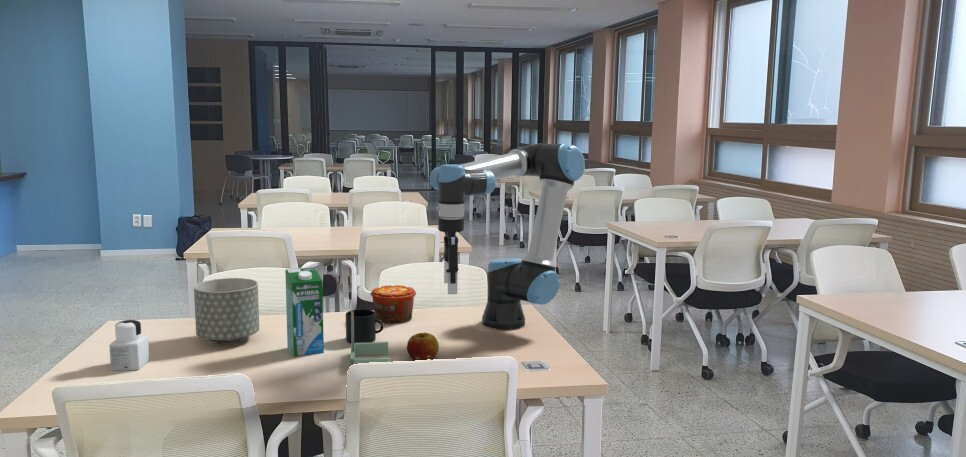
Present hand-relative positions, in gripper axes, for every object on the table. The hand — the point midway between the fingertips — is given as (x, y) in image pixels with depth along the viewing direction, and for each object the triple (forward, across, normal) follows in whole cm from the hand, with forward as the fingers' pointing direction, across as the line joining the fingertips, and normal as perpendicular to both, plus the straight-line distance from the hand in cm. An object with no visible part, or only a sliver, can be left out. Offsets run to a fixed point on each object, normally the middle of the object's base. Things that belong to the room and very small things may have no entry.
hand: (450, 288), depth 211 cm
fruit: (+22, +2, -8) cm, 23 cm away
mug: (+22, -18, -26) cm, 38 cm away
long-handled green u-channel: (+21, +2, -24) cm, 32 cm away
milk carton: (+22, -10, -44) cm, 50 cm away
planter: (+22, -22, -69) cm, 76 cm away
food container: (+22, -42, -17) cm, 50 cm away
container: (+22, 0, -91) cm, 94 cm away
